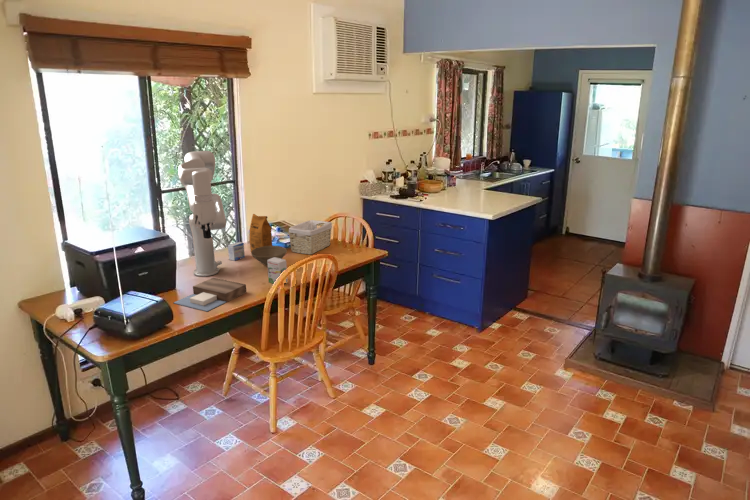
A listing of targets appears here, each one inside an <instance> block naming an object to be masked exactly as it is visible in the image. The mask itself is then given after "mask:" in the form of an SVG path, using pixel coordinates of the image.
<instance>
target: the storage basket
mask: <svg viewBox="0 0 750 500" xmlns="http://www.w3.org/2000/svg"><path fill="white" fill-rule="evenodd" d="M332 224H333V223H332V222H331V221H324V220H315V219H310V220H306V221H302V222H300V223H298V224H295V225H293V226H291V227H289V228H288V235H289V242H290V251H291V252H292V253H296V254H304V255H314V254H315V253H317V252H319V251H322V250H323V249H326V248H328V247H329V246H330V245H331V235H332V228H333V227H332ZM317 226H320V227H317Z"/></svg>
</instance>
